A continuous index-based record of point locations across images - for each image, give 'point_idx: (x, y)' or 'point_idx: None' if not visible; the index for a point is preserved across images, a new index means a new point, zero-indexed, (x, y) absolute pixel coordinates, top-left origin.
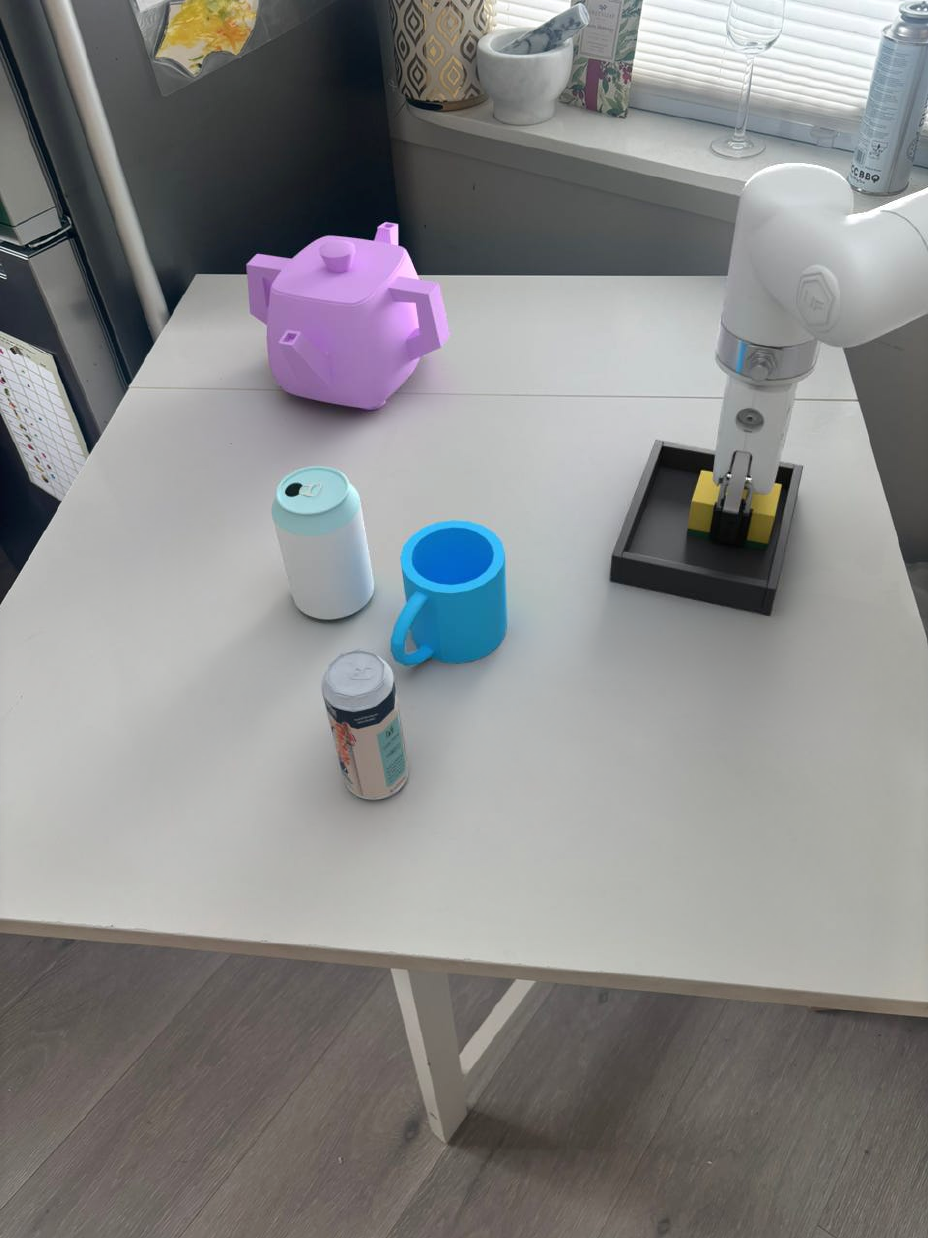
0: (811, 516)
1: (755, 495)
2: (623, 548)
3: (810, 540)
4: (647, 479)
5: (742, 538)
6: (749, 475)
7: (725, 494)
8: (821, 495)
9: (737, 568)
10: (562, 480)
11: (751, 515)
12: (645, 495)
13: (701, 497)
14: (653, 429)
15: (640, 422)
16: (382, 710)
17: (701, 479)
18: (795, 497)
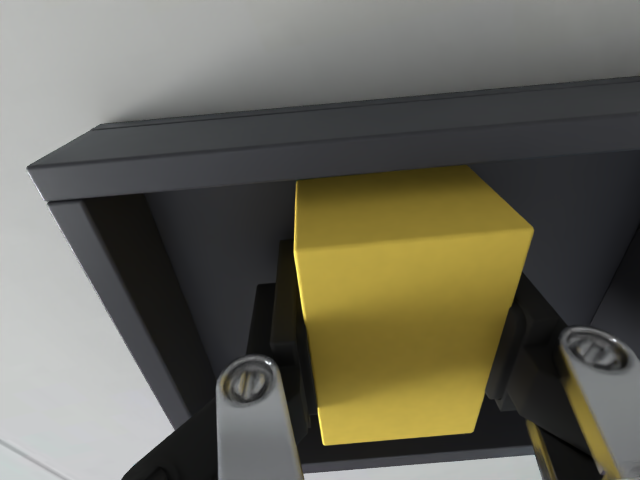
0: (197, 40)
1: (404, 315)
2: None
3: (330, 13)
4: (351, 463)
5: None
6: (309, 365)
7: (565, 454)
8: (55, 28)
9: (542, 207)
10: (326, 474)
11: (550, 307)
12: None
13: (455, 423)
14: (113, 431)
15: (110, 448)
16: None
17: (366, 437)
18: (265, 150)
